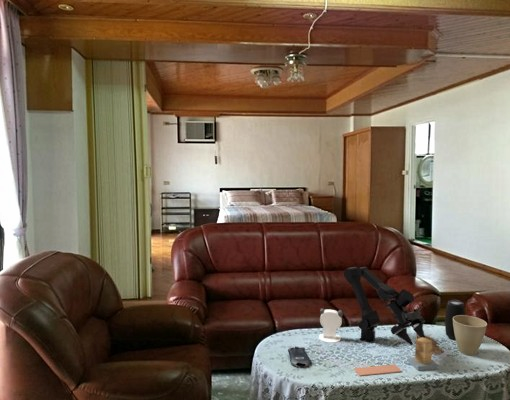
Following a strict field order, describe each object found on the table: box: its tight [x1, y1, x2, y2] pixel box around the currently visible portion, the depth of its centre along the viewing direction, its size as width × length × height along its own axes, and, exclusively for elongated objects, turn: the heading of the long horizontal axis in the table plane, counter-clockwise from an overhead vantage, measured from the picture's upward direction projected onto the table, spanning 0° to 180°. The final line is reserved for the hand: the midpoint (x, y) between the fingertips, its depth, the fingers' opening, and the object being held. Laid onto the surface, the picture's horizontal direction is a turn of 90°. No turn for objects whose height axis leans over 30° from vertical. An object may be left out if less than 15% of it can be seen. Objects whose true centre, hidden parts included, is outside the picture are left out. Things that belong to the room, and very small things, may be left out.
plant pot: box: [453, 314, 488, 356], centre depth 202 cm, size 15×15×16 cm
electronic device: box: [287, 346, 311, 369], centre depth 195 cm, size 9×6×15 cm
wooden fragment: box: [415, 332, 445, 356], centre depth 213 cm, size 26×11×1 cm, turn 174°
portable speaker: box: [444, 299, 466, 341], centre depth 219 cm, size 9×9×20 cm
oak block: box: [414, 337, 433, 365], centre depth 189 cm, size 5×5×10 cm
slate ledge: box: [407, 357, 439, 372], centre depth 190 cm, size 10×8×2 cm
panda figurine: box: [318, 308, 344, 343], centre depth 218 cm, size 12×11×15 cm
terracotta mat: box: [353, 364, 403, 377], centre depth 185 cm, size 20×6×1 cm, turn 101°
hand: (418, 342), depth 191 cm, fingers open, 9 cm apart
